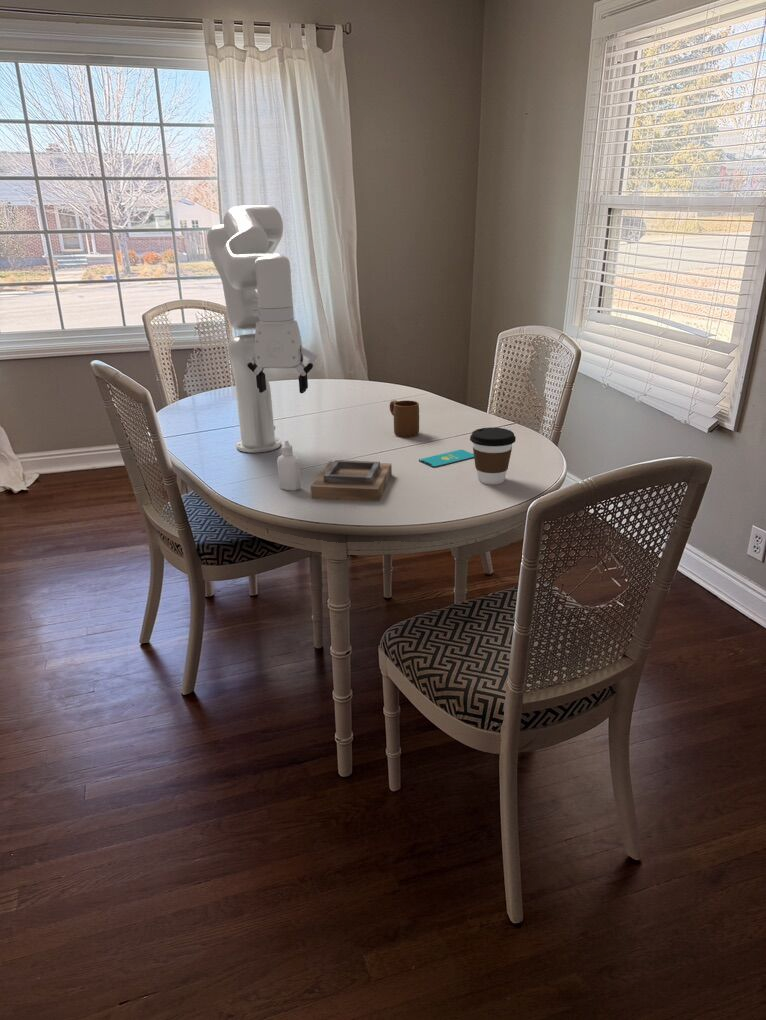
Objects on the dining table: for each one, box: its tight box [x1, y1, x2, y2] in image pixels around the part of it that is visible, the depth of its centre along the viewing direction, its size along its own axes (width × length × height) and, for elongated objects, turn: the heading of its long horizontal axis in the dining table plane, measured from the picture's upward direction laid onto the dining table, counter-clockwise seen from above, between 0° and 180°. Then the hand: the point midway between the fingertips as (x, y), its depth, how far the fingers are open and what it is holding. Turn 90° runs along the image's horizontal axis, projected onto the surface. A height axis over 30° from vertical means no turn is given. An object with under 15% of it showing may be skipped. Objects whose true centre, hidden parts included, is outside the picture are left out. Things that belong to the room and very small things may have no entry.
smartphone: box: [418, 449, 474, 469], centre depth 189 cm, size 7×1×15 cm
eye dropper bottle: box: [276, 439, 302, 492], centre depth 170 cm, size 4×6×12 cm
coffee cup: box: [469, 426, 517, 485], centre depth 171 cm, size 11×11×12 cm
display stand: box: [310, 459, 393, 502], centre depth 171 cm, size 18×16×4 cm
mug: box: [389, 399, 420, 438], centre depth 211 cm, size 12×8×9 cm, turn 34°
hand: (282, 391), depth 163 cm, fingers open, 9 cm apart
